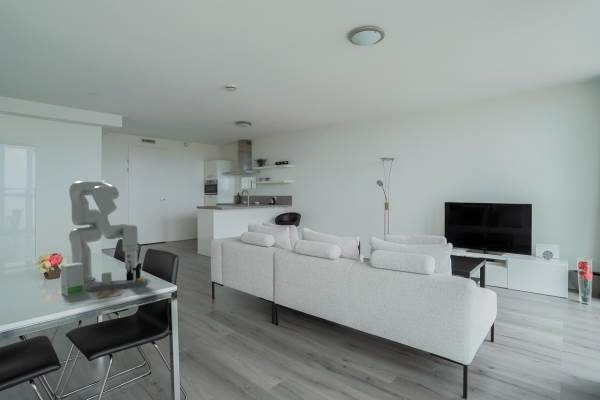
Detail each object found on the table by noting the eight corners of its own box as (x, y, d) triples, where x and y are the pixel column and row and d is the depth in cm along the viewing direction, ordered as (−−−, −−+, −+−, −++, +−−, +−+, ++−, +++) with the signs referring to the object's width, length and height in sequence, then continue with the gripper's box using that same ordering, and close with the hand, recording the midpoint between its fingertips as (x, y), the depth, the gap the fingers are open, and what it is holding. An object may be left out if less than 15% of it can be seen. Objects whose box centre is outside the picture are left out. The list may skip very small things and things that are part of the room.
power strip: (90, 292, 168) (89, 285, 168) (94, 287, 176) (94, 281, 176) (144, 286, 177) (144, 280, 177) (146, 282, 184) (145, 276, 184)
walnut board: (95, 299, 157) (94, 298, 157) (100, 292, 168) (100, 291, 168) (120, 296, 161) (120, 295, 161) (124, 290, 171) (124, 289, 171)
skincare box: (66, 297, 161) (65, 266, 161) (60, 294, 165) (59, 265, 164) (84, 292, 168) (83, 263, 168) (78, 290, 172) (77, 261, 171)
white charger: (126, 286, 176) (126, 272, 176) (127, 284, 179) (127, 270, 179) (134, 285, 177) (134, 271, 177) (135, 284, 180) (135, 270, 180)
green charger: (102, 289, 172) (101, 274, 172) (103, 287, 175) (103, 272, 175) (110, 288, 173) (110, 273, 173) (111, 286, 177) (111, 272, 176)
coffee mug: (135, 281, 187) (134, 265, 187) (122, 281, 189) (122, 264, 188) (148, 276, 198) (148, 260, 198) (136, 275, 200) (136, 260, 200)
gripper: (135, 249, 171) (136, 282, 171) (140, 244, 187) (140, 273, 188) (119, 250, 168) (120, 283, 169) (125, 245, 185) (126, 275, 185)
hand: (131, 278), depth 178 cm, fingers open, 7 cm apart
